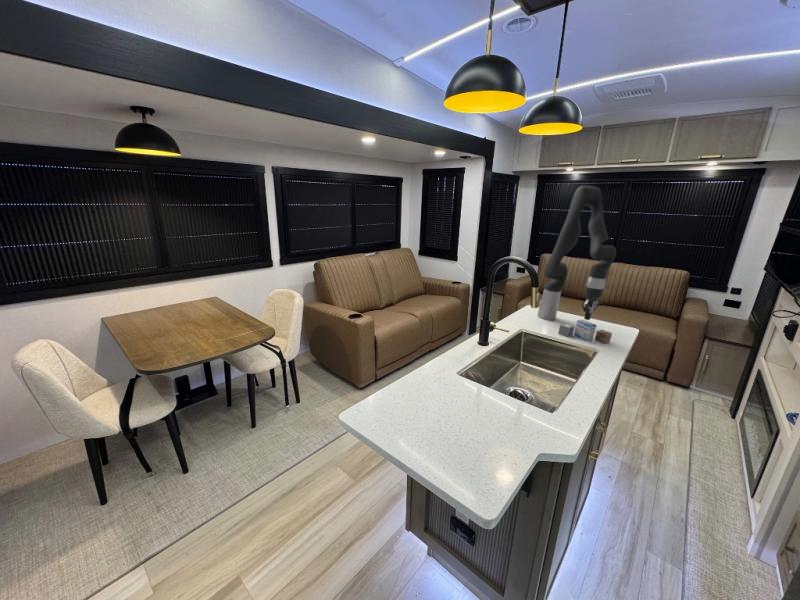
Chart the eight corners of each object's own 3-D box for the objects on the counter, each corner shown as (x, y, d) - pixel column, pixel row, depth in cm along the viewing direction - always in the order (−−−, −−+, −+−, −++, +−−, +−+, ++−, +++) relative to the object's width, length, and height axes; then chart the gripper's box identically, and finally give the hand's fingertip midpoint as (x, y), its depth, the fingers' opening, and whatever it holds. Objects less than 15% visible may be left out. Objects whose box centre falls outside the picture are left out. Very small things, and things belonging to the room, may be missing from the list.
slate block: (558, 333, 168) (560, 324, 166) (563, 332, 170) (565, 323, 169) (567, 337, 164) (569, 328, 162) (572, 335, 166) (574, 326, 165)
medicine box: (573, 335, 166) (576, 320, 163) (578, 334, 168) (582, 319, 165) (587, 341, 159) (591, 325, 157) (593, 340, 161) (596, 324, 158)
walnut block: (594, 340, 161) (596, 330, 160) (599, 338, 164) (601, 329, 163) (604, 344, 158) (607, 334, 156) (609, 342, 160) (612, 332, 159)
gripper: (594, 282, 162) (586, 314, 167) (580, 285, 155) (572, 319, 160) (609, 286, 156) (601, 319, 161) (596, 289, 149) (587, 324, 154)
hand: (587, 319), depth 161 cm, fingers closed
